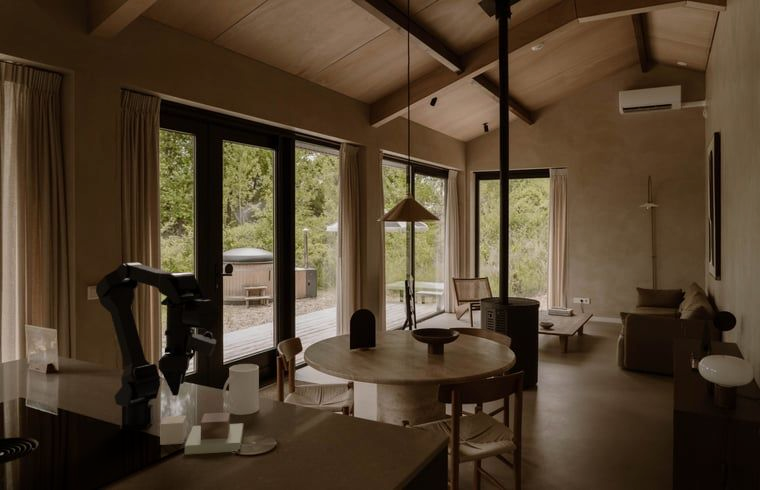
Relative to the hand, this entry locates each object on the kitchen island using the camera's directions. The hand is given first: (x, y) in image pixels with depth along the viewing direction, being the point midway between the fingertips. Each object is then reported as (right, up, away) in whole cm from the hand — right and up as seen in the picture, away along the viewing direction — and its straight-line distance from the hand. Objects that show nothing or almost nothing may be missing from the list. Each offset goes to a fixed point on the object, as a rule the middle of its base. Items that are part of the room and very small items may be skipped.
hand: (178, 389), depth 127 cm
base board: (+9, -12, -1) cm, 15 cm away
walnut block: (+9, -10, -2) cm, 14 cm away
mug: (+9, -12, +20) cm, 25 cm away
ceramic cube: (-1, -12, 0) cm, 12 cm away
